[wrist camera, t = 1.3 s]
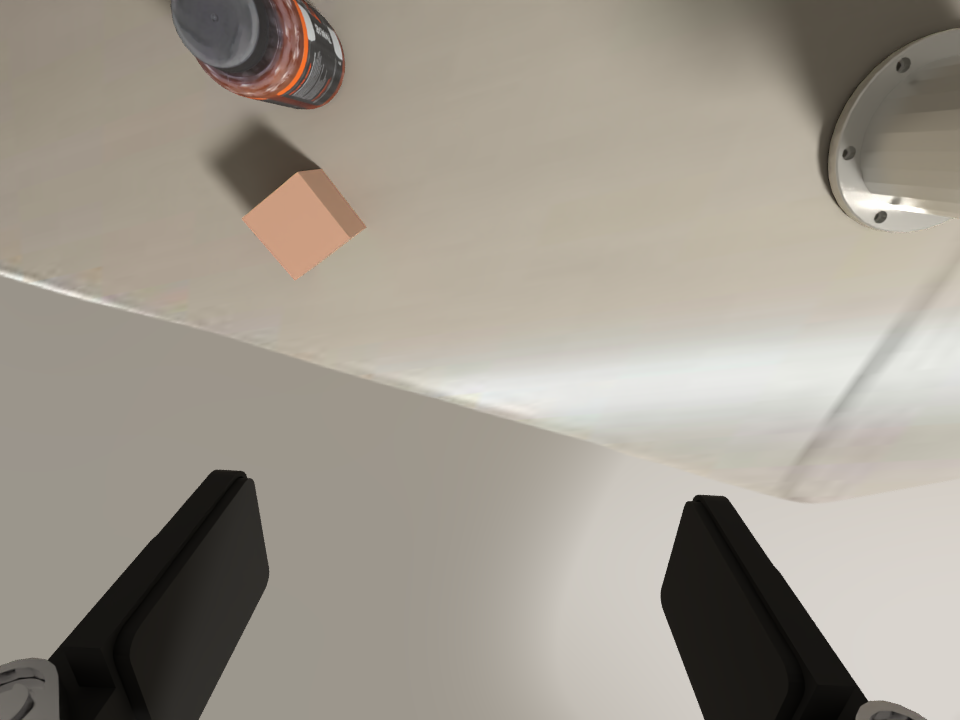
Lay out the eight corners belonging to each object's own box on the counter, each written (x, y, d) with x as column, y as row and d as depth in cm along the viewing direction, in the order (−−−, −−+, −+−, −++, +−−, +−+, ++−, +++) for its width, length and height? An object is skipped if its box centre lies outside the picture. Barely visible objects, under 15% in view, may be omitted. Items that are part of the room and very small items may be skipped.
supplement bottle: (352, 19, 31) (286, -46, 21) (342, 120, 33) (279, 106, 23) (258, -5, 31) (143, -84, 20) (255, 98, 33) (151, 75, 23)
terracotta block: (322, 168, 35) (297, 171, 30) (366, 227, 36) (350, 238, 32) (272, 209, 36) (241, 218, 31) (317, 264, 38) (294, 280, 33)
